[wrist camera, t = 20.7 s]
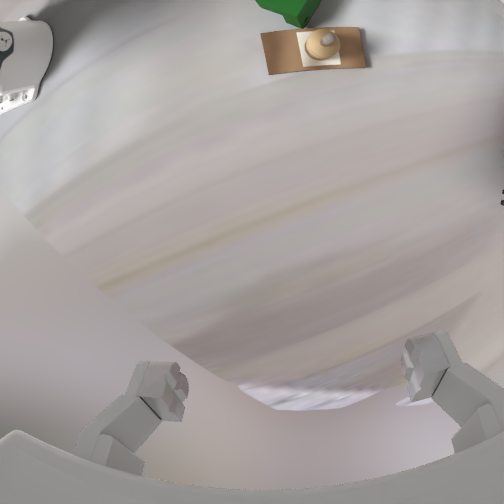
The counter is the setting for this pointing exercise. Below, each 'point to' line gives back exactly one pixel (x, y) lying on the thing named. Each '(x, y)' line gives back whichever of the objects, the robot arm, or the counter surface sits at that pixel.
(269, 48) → the bandage strip
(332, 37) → the awl
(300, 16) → the clamp
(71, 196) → the counter surface
